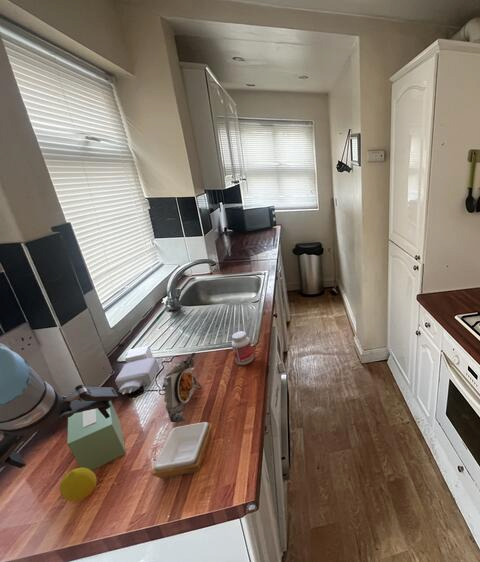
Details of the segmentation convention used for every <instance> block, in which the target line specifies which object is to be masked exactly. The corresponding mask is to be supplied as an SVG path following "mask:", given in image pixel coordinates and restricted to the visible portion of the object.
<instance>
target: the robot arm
mask: <svg viewBox="0 0 480 562" xmlns="http://www.w3.org/2000/svg"><path fill="white" fill-rule="evenodd" d="M74 389H75V390H74V392H72V393H70V394H68V395H60V394H59V392H57V390H55V388H53V387H52V386H51V385H50V384H49V383H48V382H47V381H46V380H45V379H44V378H42V377H41V376H40V375H39V374H38V373H37V372H36V371H35V370H34V369H33V368H32V367H31V365H30V364H29V363H28V361H27V360H26V359H25V358H23V357H22V356H21V355H19V353H17V352H16V351H13V350H11V349H10V348H9V347H8V346H6V344H3V343H2V342H0V468H5V467H6V466H8V465H10V466H13V467H15V468H19V469H22V468H23V467H26V466H27V464H26V462H25V460H24V457H23V456H22V455H21V453H19V452H17V451H15V450H16V449H18V447H19V446H20V445H21V443H24V442H27V441H28V440H29V439H30V437H31V436H33V434H36V433H38V432H40V431H42V430H45V429H46V428H48V427H49V426H50V425H51V424H53V423H55V422H57V421H59V420H62V419H68V417H71V416H72V415H73V414H74V413H79V412H83V411H88V410H92V409H97V408H98V410H99V411H100V412H101V413H102V415H103V416H104V417H105V418H106V419H107V418H108V417H110V415H109V414H108V412H107V411H106V409H108V408H110V407H111V405H110V403H109V401H110V400H111V401H115V400H117V399H118V398H119V395H118V393H117V392H116V390H115V389H114V387H109V386H107V387H106V386H105V387H103V386H86V385H84V384H82V383H81V384H78V385H77V386H75V387H74Z"/></svg>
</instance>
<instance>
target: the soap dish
mask: <svg viewBox="0 0 480 562" xmlns="http://www.w3.org/2000/svg"><path fill="white" fill-rule="evenodd" d="M212 430H213V422H210V423H209V422H207V421H203V422H196V423H193V424H192V423H191V424H184V425H180V426H176V427H173V428H172V430H170V432H169V434H168V436H167V438H166V440H165V442H164V445H163V447H162V448H161V450H160V453H159V455H158V456H157V459H156V461H155V462H154V466H153V469H152V471H151V473H150V475H151V476H153V477H157V478H160V479H167V478H173V477H178V476H182V475H189V474H194V473H196V474H197V473H199V471H200V469H201V465H202V462H203V461H204V457H205V454H206V451H207V449H208V444H209V441H210V439H211V435H212Z"/></svg>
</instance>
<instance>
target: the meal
mask: <svg viewBox="0 0 480 562" xmlns="http://www.w3.org/2000/svg"><path fill="white" fill-rule="evenodd" d="M195 356H196V352H192V353H191V354H190V355H189V356H187V358H185V359H181V361H180V362H177V363H176V364H175V365H174V366H173V367H171V370H170V371H169V372H168V373H167V374H165V376H164V378H163V383H162V385H161V386H162V387H161V389H162V391H164V399H163V402H165V403H166V404H165V410H166V411H167V414H168V416H169V417H168V418H169V421H170V422H171V423H174V424H175V423H176V424H177V423H181V422H186V419H185V418H184V417H183V416H182V415H183V414H184V413H185V410H184V405H185V404H187V403H188V402H190V399H191V398H192V396H193V395H194V390H196V389H198V388H199V387H202V385H201V383H200V381H199V382H198V380H197V377H196V376H195V375H193V370H192V368H193V366H194V364H195V362H194V357H195Z"/></svg>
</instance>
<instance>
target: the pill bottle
mask: <svg viewBox="0 0 480 562" xmlns="http://www.w3.org/2000/svg"><path fill="white" fill-rule="evenodd" d="M231 338H232V341H231V348H232V352H233V357H234V361H235V363H236V364H237V365H239V366H245V365H248V364H250V363H251V362H253V360H254V352H253V348H252V343H251V340H250V338H249V337H248V335H247V332H246V331H244V330H243V331H237V332H235V333H233V334H232V335H231Z"/></svg>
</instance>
